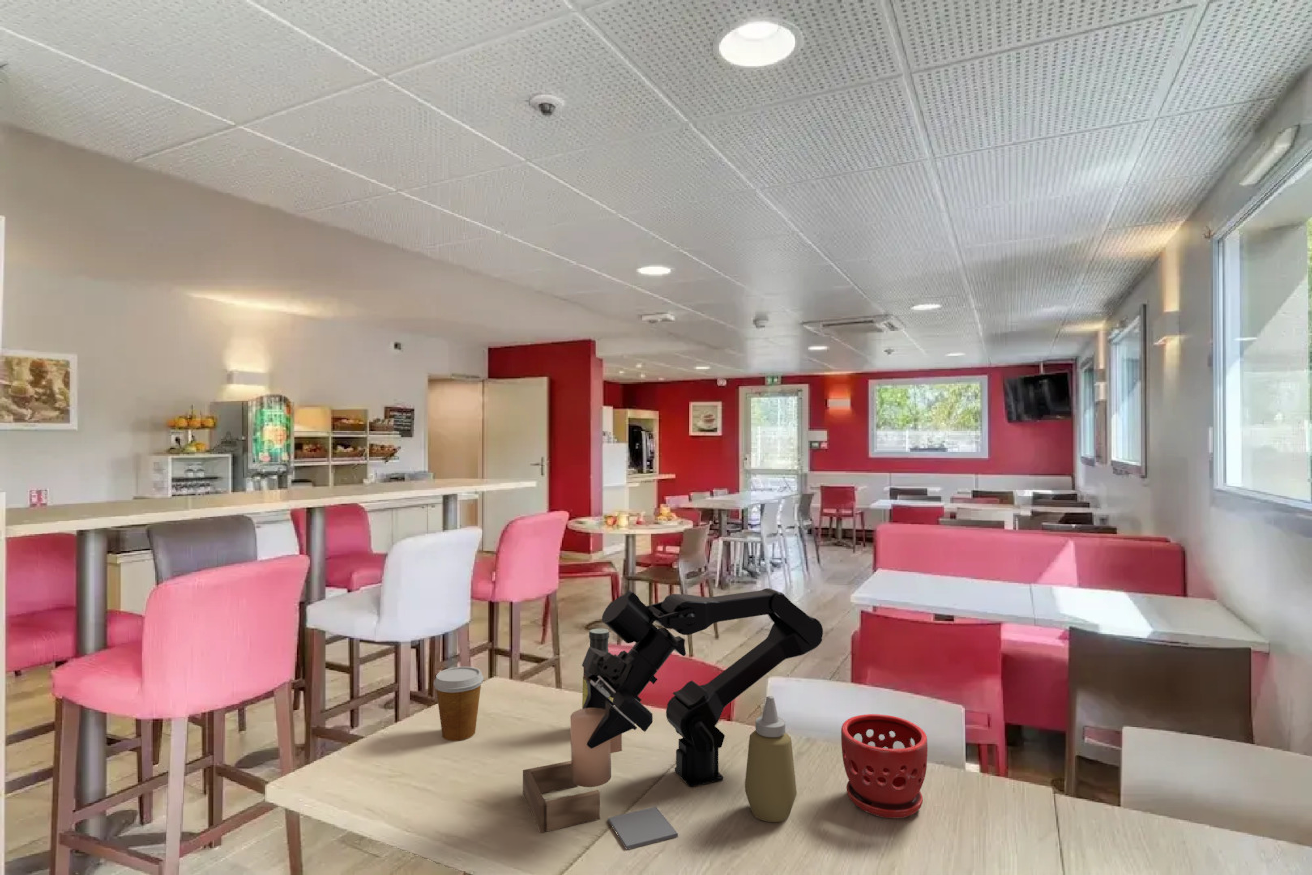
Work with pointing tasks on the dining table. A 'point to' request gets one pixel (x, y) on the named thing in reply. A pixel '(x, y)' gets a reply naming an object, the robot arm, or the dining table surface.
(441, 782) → the dining table surface
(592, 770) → the tan cylinder
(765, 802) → the squeeze bottle
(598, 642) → the sauce bottle
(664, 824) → the rubber mat
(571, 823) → the open u-shaped wooden holder
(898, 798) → the plant pot
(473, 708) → the disposable coffee cup
